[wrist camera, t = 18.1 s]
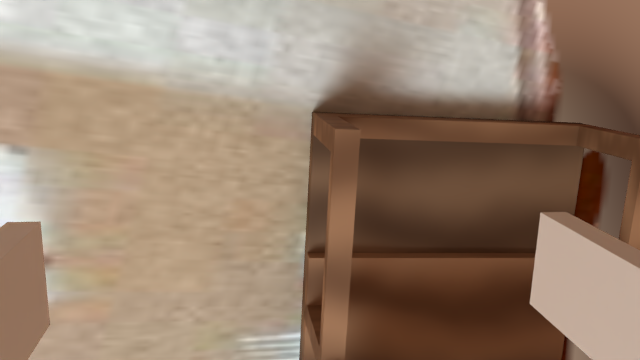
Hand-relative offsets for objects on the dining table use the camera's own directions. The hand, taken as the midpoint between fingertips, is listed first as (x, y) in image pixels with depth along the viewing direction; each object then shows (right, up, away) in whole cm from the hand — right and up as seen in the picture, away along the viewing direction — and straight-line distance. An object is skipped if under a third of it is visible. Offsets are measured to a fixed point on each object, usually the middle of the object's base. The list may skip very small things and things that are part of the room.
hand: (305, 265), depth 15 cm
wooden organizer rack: (+10, -8, +32) cm, 35 cm away
